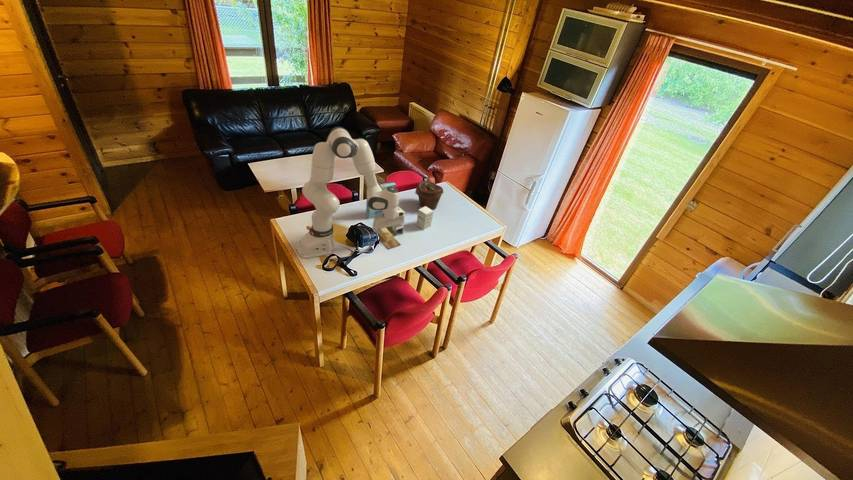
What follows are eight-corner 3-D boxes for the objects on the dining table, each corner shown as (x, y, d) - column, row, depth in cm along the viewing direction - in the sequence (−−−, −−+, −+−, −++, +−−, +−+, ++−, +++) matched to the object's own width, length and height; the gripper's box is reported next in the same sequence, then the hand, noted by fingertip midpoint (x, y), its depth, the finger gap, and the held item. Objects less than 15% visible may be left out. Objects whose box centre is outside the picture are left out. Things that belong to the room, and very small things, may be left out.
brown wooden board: (388, 249, 223) (388, 248, 222) (375, 235, 232) (375, 234, 232) (400, 245, 227) (400, 244, 227) (387, 231, 237) (387, 230, 237)
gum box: (390, 209, 258) (393, 181, 244) (394, 213, 254) (396, 184, 241) (365, 215, 248) (366, 186, 234) (368, 219, 245) (370, 190, 231)
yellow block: (391, 239, 230) (392, 234, 227) (386, 241, 227) (386, 236, 225) (382, 229, 237) (382, 224, 234) (376, 231, 235) (377, 226, 232)
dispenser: (402, 233, 237) (404, 221, 231) (394, 236, 234) (395, 224, 228) (393, 223, 244) (394, 212, 239) (384, 226, 241) (385, 214, 235)
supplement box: (415, 224, 247) (418, 209, 239) (423, 221, 252) (425, 205, 244) (423, 230, 243) (426, 214, 236) (431, 226, 248) (433, 210, 240)
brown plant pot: (415, 197, 275) (418, 176, 264) (441, 202, 275) (445, 181, 264) (411, 209, 261) (414, 188, 250) (439, 215, 261) (443, 193, 250)
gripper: (376, 219, 209) (375, 238, 217) (406, 212, 220) (404, 230, 228) (371, 213, 213) (370, 232, 221) (401, 206, 224) (399, 225, 232)
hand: (387, 231), depth 225 cm, fingers open, 8 cm apart
